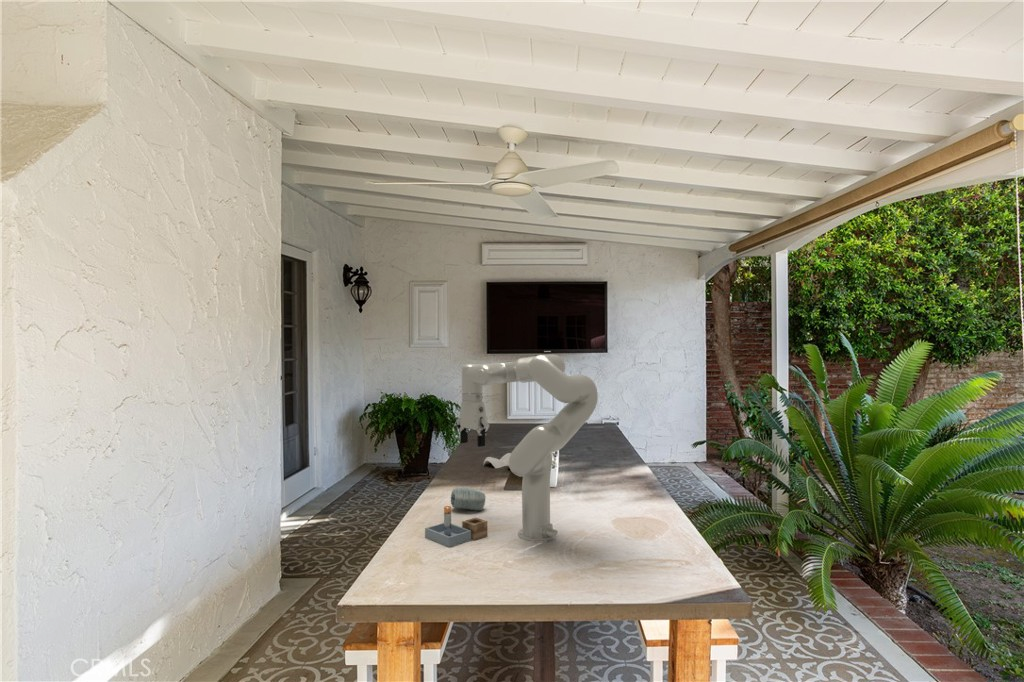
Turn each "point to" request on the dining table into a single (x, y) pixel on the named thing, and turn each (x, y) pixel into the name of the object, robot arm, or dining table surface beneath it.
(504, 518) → the dining table surface
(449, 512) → the lock pin
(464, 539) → the tray
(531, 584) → the dining table surface
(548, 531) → the robot arm
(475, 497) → the spool
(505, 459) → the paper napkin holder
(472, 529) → the brown wooden socket block
